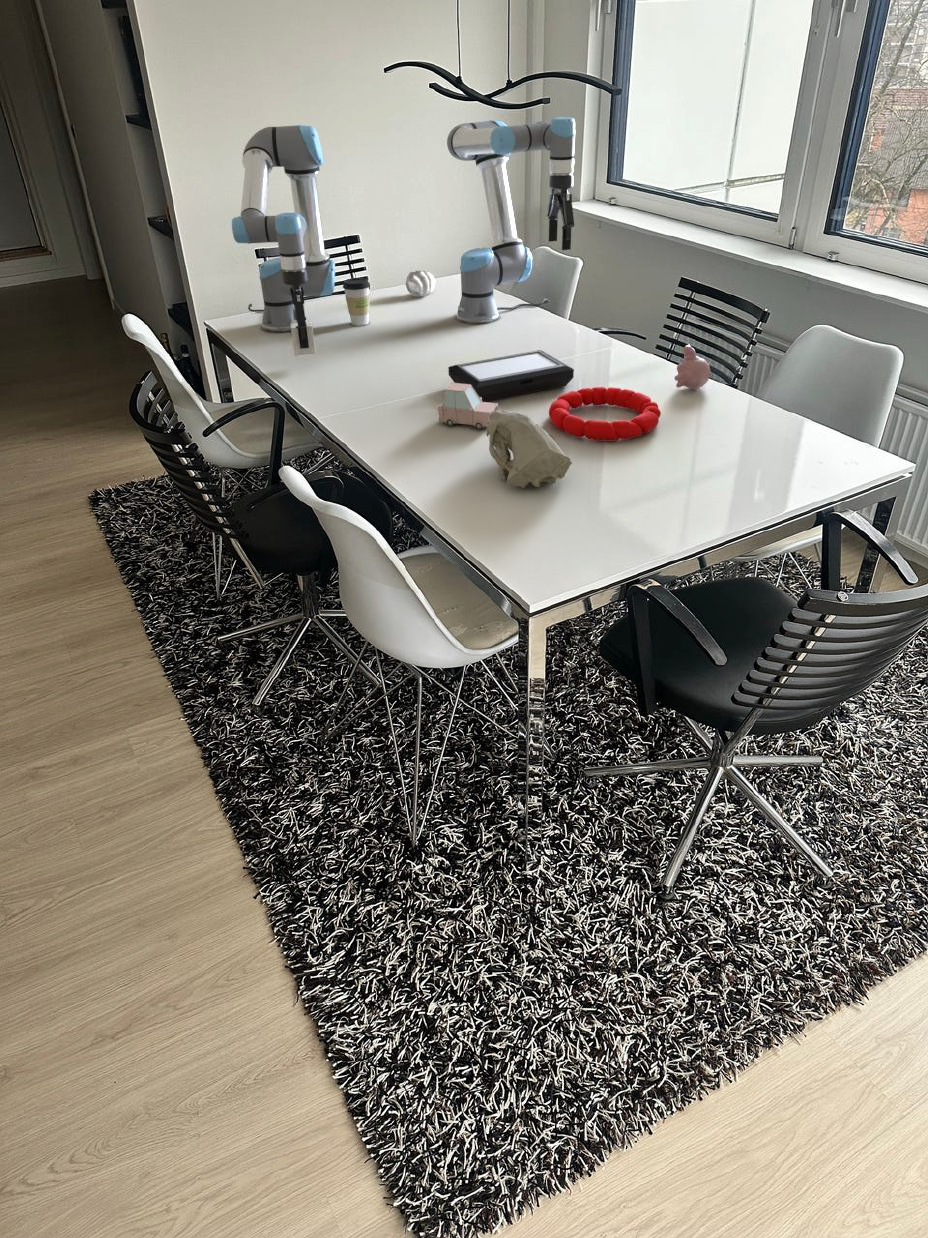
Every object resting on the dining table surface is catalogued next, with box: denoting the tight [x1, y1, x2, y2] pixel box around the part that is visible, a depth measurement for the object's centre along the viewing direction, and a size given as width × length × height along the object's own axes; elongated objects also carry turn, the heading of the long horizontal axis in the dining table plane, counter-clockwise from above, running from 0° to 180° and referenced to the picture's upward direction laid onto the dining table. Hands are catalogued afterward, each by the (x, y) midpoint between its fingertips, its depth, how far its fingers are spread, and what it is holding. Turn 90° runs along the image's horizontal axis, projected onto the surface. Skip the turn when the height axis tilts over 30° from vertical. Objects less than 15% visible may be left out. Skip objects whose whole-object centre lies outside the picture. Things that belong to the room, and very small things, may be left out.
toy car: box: [437, 382, 499, 431], centre depth 243 cm, size 9×15×10 cm, turn 70°
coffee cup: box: [342, 277, 371, 327], centre depth 323 cm, size 10×10×15 cm
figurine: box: [674, 344, 711, 390], centre depth 259 cm, size 9×11×12 cm
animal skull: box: [485, 409, 573, 489], centre depth 216 cm, size 17×25×20 cm
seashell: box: [405, 270, 436, 298], centre depth 352 cm, size 10×15×10 cm
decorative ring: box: [548, 386, 661, 442], centre depth 242 cm, size 7×30×30 cm
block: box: [290, 320, 316, 357], centre depth 283 cm, size 6×6×9 cm
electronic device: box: [448, 349, 575, 402], centre depth 267 cm, size 32×6×20 cm
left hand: (303, 344), depth 284 cm, fingers closed on block, 6 cm apart
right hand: (559, 245), depth 292 cm, fingers open, 13 cm apart
